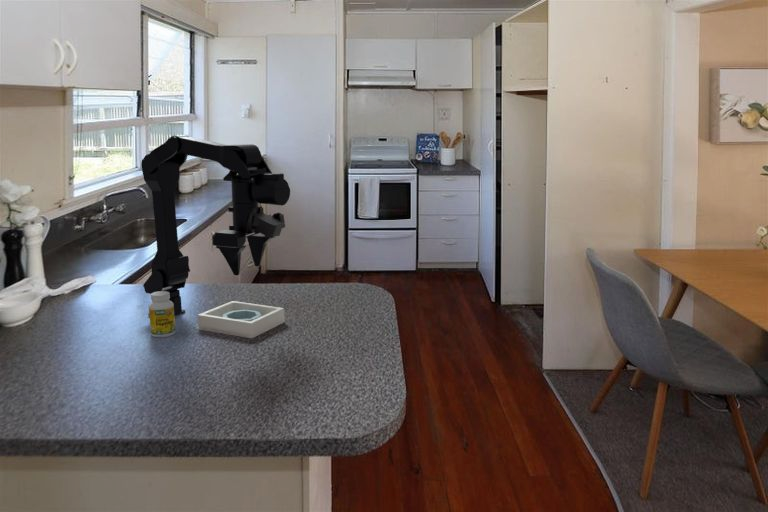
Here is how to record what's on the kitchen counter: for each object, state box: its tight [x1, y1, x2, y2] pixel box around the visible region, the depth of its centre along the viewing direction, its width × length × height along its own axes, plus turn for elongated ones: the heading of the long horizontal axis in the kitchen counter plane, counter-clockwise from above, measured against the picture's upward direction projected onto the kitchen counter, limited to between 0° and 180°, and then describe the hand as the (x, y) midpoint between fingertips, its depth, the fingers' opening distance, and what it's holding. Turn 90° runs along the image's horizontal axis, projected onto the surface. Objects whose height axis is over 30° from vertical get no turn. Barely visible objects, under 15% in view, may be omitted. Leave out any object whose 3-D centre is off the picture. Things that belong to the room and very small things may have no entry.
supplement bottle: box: [148, 291, 176, 338], centre depth 147 cm, size 5×5×10 cm
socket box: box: [197, 300, 285, 339], centre depth 154 cm, size 15×13×4 cm
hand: (247, 270), depth 148 cm, fingers open, 9 cm apart
